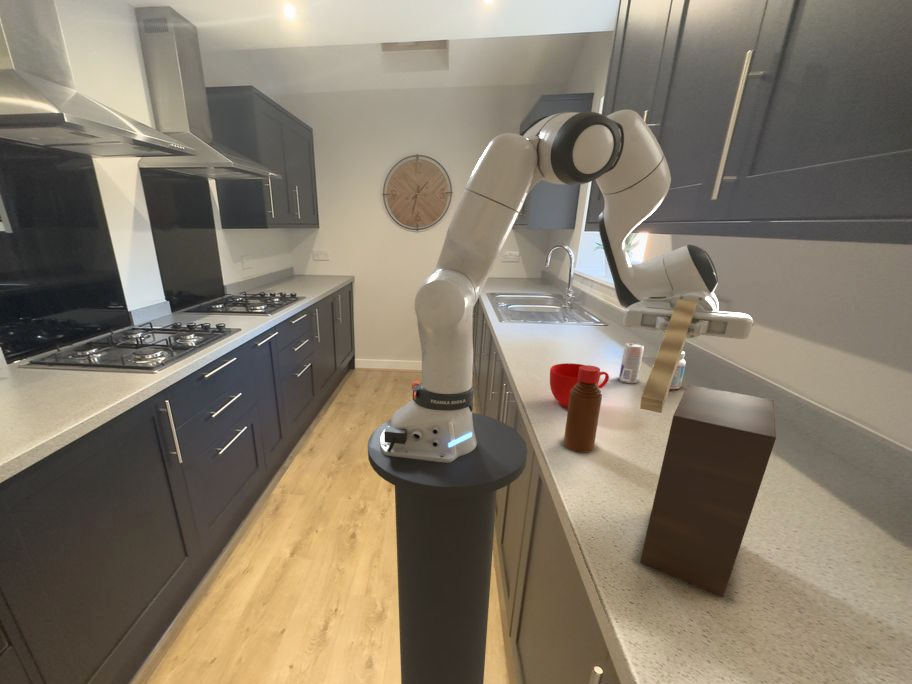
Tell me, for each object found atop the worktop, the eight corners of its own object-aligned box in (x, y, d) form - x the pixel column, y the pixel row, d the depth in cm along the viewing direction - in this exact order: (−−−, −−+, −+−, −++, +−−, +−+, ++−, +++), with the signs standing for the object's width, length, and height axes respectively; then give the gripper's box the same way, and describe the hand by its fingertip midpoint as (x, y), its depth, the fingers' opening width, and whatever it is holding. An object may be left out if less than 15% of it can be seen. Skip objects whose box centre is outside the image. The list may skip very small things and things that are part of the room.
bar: (676, 312, 79) (677, 299, 77) (694, 313, 77) (697, 301, 75) (640, 408, 67) (641, 396, 65) (661, 413, 65) (662, 401, 64)
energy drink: (627, 377, 136) (634, 342, 132) (641, 382, 131) (648, 346, 127) (614, 379, 135) (620, 343, 130) (628, 384, 130) (634, 347, 126)
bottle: (568, 452, 91) (578, 376, 85) (560, 438, 97) (569, 366, 91) (598, 452, 91) (610, 376, 85) (587, 438, 97) (598, 366, 91)
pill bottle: (668, 382, 131) (676, 348, 127) (685, 388, 125) (693, 353, 121) (652, 384, 130) (659, 349, 126) (668, 390, 124) (676, 355, 120)
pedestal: (657, 514, 71) (687, 384, 63) (729, 539, 65) (773, 399, 57) (639, 562, 61) (673, 415, 53) (723, 596, 55) (776, 437, 47)
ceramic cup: (618, 409, 112) (625, 375, 109) (561, 414, 110) (565, 379, 106) (591, 392, 124) (595, 361, 121) (538, 396, 122) (541, 364, 118)
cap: (594, 377, 90) (596, 365, 89) (601, 383, 87) (603, 371, 86) (575, 377, 91) (576, 365, 90) (581, 383, 87) (582, 371, 86)
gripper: (749, 337, 78) (747, 354, 68) (630, 325, 90) (614, 337, 80) (758, 304, 76) (758, 317, 66) (635, 296, 88) (619, 305, 78)
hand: (678, 328), depth 73 cm, fingers closed on bar, 3 cm apart
